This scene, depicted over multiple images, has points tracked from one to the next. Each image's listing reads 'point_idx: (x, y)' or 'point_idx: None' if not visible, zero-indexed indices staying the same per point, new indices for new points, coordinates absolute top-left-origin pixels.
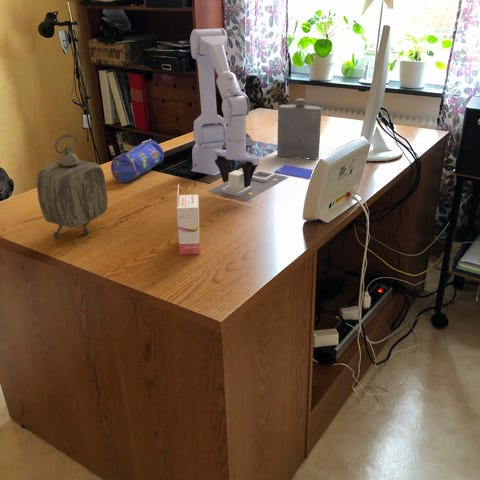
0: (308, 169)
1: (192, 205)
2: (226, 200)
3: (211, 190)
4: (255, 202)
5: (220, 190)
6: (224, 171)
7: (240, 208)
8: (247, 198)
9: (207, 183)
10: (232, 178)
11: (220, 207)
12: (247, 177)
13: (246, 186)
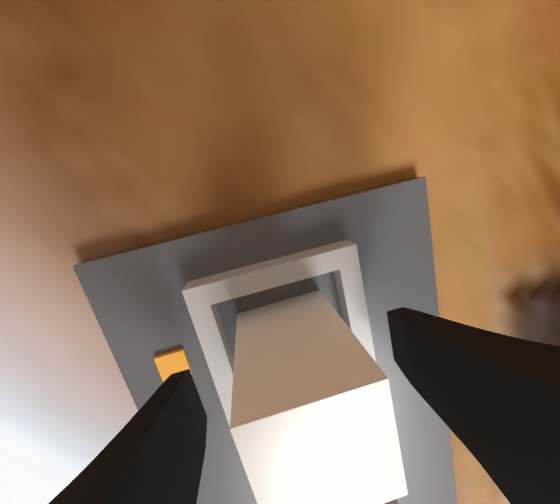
0: None
1: None
2: (217, 181)
3: (415, 208)
4: (48, 310)
5: (370, 256)
6: (471, 380)
7: (4, 147)
8: (114, 300)
9: (524, 286)
10: (313, 361)
11: (125, 37)
12: (87, 476)
13: (165, 382)
